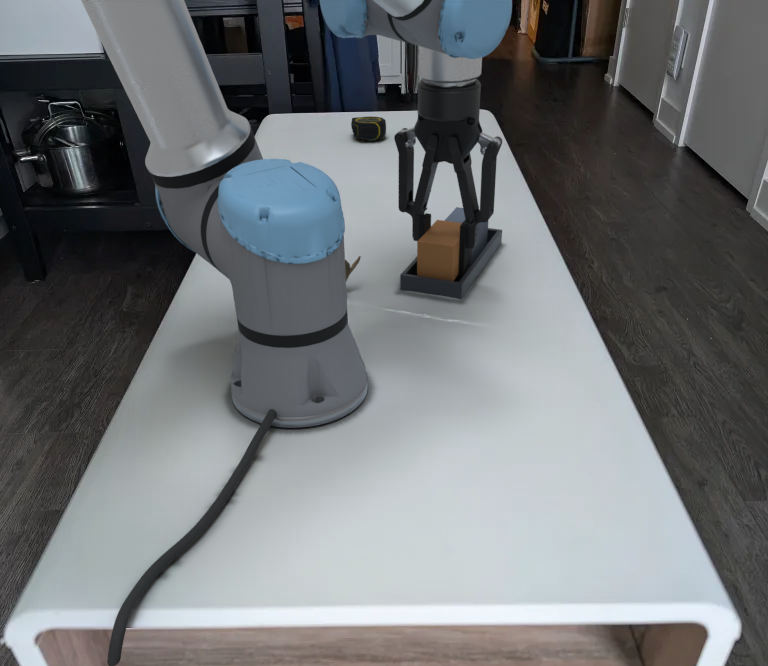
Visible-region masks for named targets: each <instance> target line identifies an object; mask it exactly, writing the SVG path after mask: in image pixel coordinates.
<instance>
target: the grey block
mask: <svg viewBox="0 0 768 666" xmlns="http://www.w3.org/2000/svg"><path fill="white" fill-rule="evenodd" d="M464 220H465V215H464V209H463V207H457V206H456V207H455V208H454V209H453V210H452V212H451V213H450V214H449V215H448V216H447V217H446V218H445V219H444V221H451V222H458V223H463V222H464ZM488 228H489V220H488V221H487V222H485V223H484V222H481V223H479V227H478V242H477V244H476V245H475V247H474V248H473V249H471V248H470V264H469V265H472V264H473V262H474V261H475V260H476V258H477V257H478V256H479V254H480V253H481V252H482V250H483V249H484V248H485V246H486V245H487V235H488Z"/></svg>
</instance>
